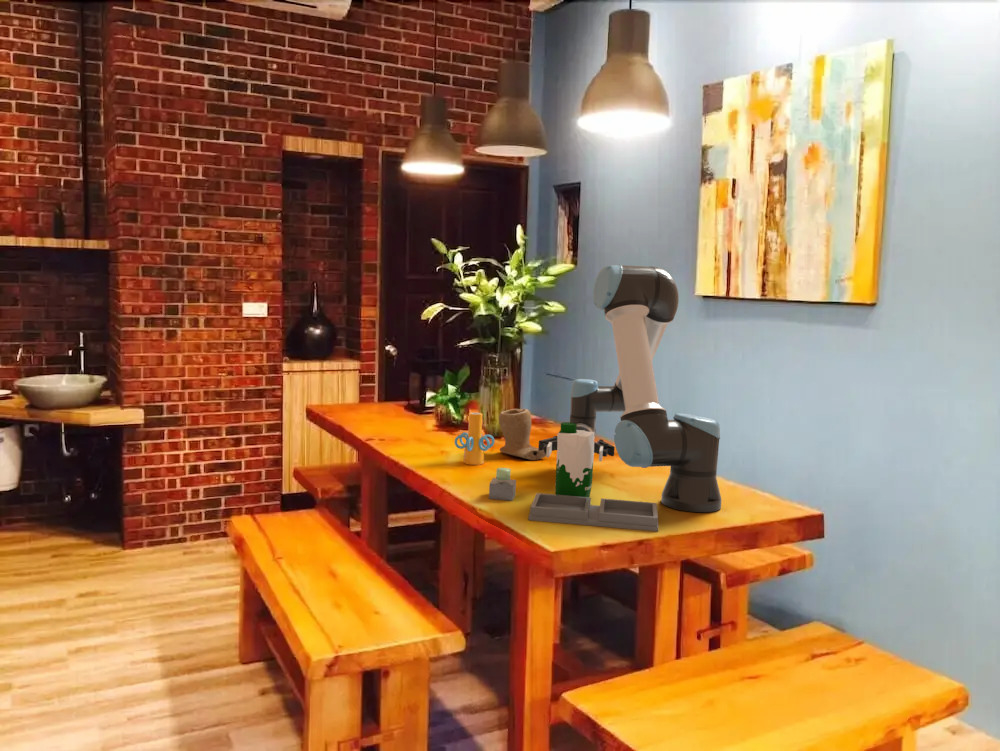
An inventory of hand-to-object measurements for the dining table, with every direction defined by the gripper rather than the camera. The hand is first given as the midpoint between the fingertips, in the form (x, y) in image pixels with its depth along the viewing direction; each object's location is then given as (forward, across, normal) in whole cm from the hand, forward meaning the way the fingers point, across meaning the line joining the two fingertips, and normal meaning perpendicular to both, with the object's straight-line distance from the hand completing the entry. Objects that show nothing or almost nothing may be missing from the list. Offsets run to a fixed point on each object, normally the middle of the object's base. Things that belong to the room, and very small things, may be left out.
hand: (574, 454), depth 227 cm
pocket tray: (+17, -7, -12) cm, 21 cm away
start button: (+6, +17, -7) cm, 19 cm away
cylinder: (-30, +32, -12) cm, 45 cm away
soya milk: (+4, -1, -12) cm, 12 cm away
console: (+6, +17, -11) cm, 22 cm away
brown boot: (-44, +20, -12) cm, 50 cm away
